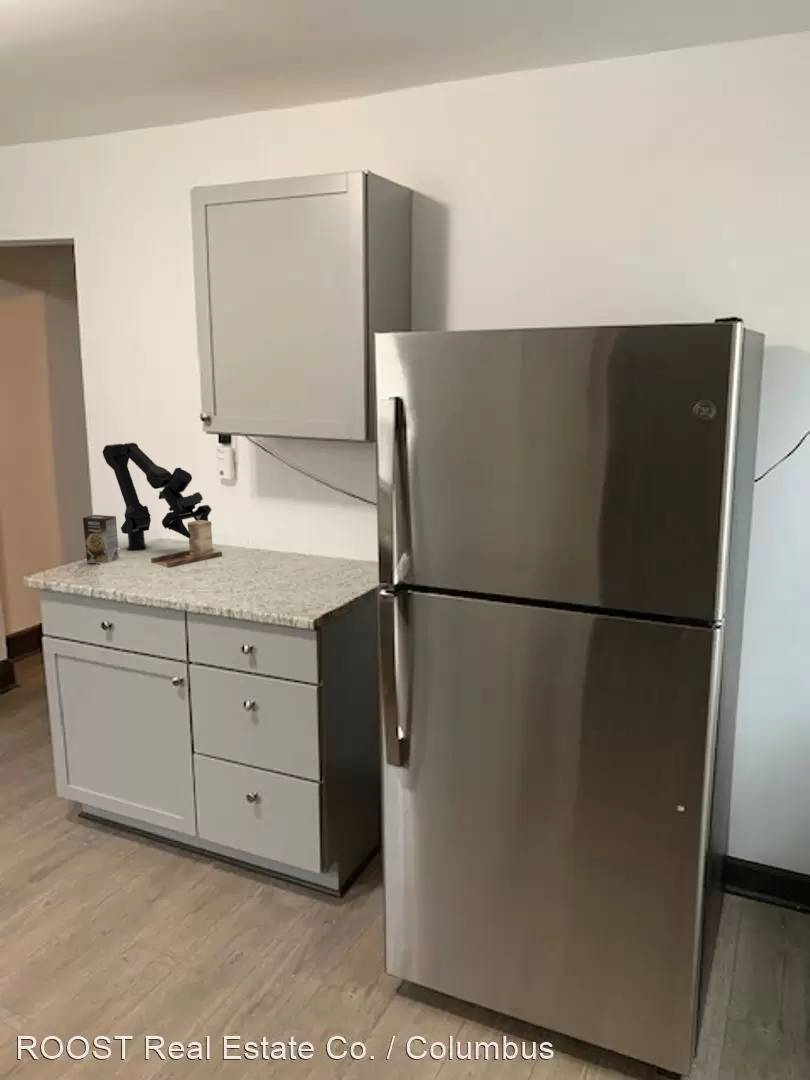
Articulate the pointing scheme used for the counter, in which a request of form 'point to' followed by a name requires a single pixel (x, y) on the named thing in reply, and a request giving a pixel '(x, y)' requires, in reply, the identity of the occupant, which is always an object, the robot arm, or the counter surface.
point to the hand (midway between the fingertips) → (200, 534)
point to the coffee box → (101, 538)
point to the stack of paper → (200, 538)
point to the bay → (182, 558)
